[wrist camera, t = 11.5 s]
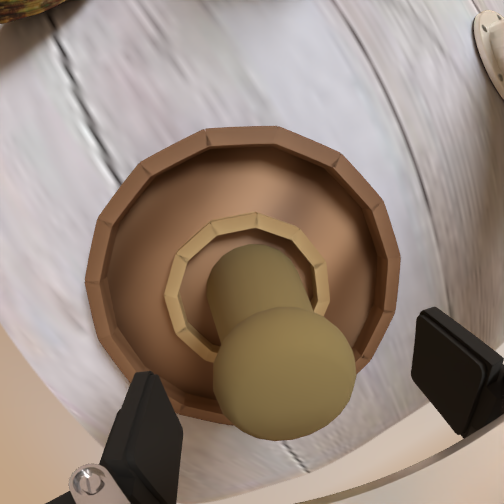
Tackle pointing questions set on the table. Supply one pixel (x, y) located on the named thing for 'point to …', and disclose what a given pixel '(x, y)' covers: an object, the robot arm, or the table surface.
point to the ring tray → (226, 239)
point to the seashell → (24, 8)
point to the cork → (274, 348)
